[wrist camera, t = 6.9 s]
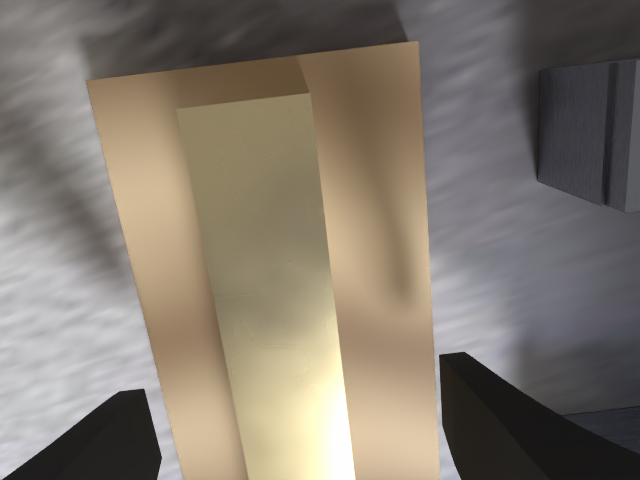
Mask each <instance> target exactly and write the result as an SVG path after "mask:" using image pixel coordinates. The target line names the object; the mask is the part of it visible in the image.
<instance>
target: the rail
mask: <svg viewBox="0 0 640 480" xmlns="http://www.w3.org/2000/svg"><path fill="white" fill-rule="evenodd" d="M176 111H177V116H178V121H179V126H180V131H181V136H182V141H183V146H184V151H185V156H186V161H187V167H188V172H189V177H190V182H191V187H192V192H193V197H194V202H195V207H196V212H197V217H198V223H199V228H200V233H201V238H202V243H203V248H204V253H205V258H206V263H207V268H208V273H209V279H210V284H211V289H212V294H213V299H214V304H215V309H216V314H217V319H218V324H219V329H220V334H221V340H222V345H223V350H224V355H225V360H226V365H227V370H228V375H229V380H230V385H231V390H232V396H233V401H234V406H235V411H236V416H237V421H238V426H239V431H240V436H241V441H242V446H243V451H244V457H245V462H246V467H247V472H248V477H249V480H355V475H354V466H353V458H352V449H351V440H350V432H349V423H348V414H347V405H346V397H345V388H344V379H343V371H342V362H341V353H340V345H339V336H338V327H337V319H336V310H335V301H334V293H333V284H332V275H331V266H330V258H329V249H328V240H327V232H326V223H325V214H324V206H323V197H322V188H321V180H320V171H319V162H318V154H317V145H316V136H315V127H314V119H313V110H312V101H311V93H303V94H295V95H287V96H278V97H270V98H262V99H253V100H245V101H237V102H228V103H220V104H212V105H203V106H195V107H188V108H180V109H176Z"/></svg>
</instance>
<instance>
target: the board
mask: <svg viewBox="0 0 640 480" xmlns="http://www.w3.org/2000/svg"><path fill="white" fill-rule="evenodd" d="M86 84H87V88H88V92H89V96H90V100H91V105H92V109H93V113H94V117H95V121H96V125H97V129H98V133H99V137H100V141H101V145H102V149H103V153H104V157H105V161H106V165H107V169H108V174H109V178H110V182H111V186H112V190H113V194H114V198H115V202H116V206H117V210H118V214H119V218H120V222H121V226H122V230H123V234H124V238H125V242H126V247H127V251H128V255H129V259H130V263H131V267H132V271H133V275H134V279H135V283H136V287H137V291H138V295H139V299H140V303H141V307H142V311H143V315H144V320H145V324H146V328H147V332H148V336H149V340H150V344H151V348H152V352H153V356H154V360H155V364H156V368H157V372H158V376H159V380H160V384H161V388H162V393H163V397H164V401H165V405H166V409H167V413H168V417H169V421H170V425H171V429H172V433H173V437H174V441H175V445H176V449H177V453H178V457H179V461H180V466H181V470H182V474H183V478H184V480H249V477H248V472H247V467H246V462H245V457H244V451H243V446H242V441H241V436H240V431H239V426H238V421H237V416H236V411H235V406H234V401H233V396H232V390H231V385H230V380H229V375H228V370H227V365H226V360H225V355H224V350H223V345H222V340H221V334H220V329H219V324H218V319H217V314H216V309H215V304H214V299H213V294H212V289H211V284H210V279H209V273H208V268H207V263H206V258H205V253H204V248H203V243H202V238H201V233H200V228H199V223H198V217H197V212H196V207H195V202H194V197H193V192H192V187H191V182H190V177H189V172H188V167H187V161H186V156H185V151H184V146H183V141H182V136H181V131H180V126H179V121H178V116H177V111H176V109H180V108H188V107H195V106H203V105H212V104H220V103H228V102H237V101H245V100H253V99H262V98H270V97H278V96H287V95H295V94H303V93H311V101H312V110H313V119H314V127H315V136H316V145H317V154H318V162H319V171H320V180H321V188H322V197H323V206H324V214H325V223H326V232H327V240H328V249H329V258H330V266H331V275H332V284H333V293H334V301H335V310H336V319H337V327H338V336H339V345H340V353H341V362H342V371H343V379H344V388H345V397H346V405H347V414H348V423H349V432H350V440H351V449H352V458H353V466H354V475H355V480H440V461H439V441H438V421H437V401H436V380H435V360H434V340H433V320H432V300H431V279H430V259H429V239H428V219H427V199H426V179H425V158H424V138H423V118H422V98H421V78H420V58H419V41H411V42H402V43H394V44H386V45H378V46H369V47H361V48H353V49H344V50H336V51H328V52H319V53H311V54H303V55H294V56H286V57H278V58H269V59H261V60H253V61H245V62H236V63H228V64H220V65H211V66H203V67H195V68H186V69H178V70H170V71H161V72H153V73H145V74H136V75H128V76H120V77H112V78H103V79H95V80H87V81H86Z"/></svg>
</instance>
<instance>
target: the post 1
mask: <svg viewBox="0 0 640 480" xmlns="http://www.w3.org/2000/svg"><path fill="white" fill-rule="evenodd" d="M538 182H540V183H543V184H545V185H548V186H551V187H553V188H556V189H558V190H561V191H564V192H566V193H569V194H572V195H574V196H577V197H579V198H582V199H585V200H587V201H590V202H592V203H595V204H598V205H600V206H601V205H606V206H609V207H612V208H614V209H617V210H620V211H622V212H634V211H640V58H633V59H625V60H617V61H608V62H600V63H592V64H583V65H575V66H567V67H558V68H550V69H542V70H540V100H539V149H538Z"/></svg>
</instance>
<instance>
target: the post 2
mask: <svg viewBox="0 0 640 480" xmlns="http://www.w3.org/2000/svg"><path fill="white" fill-rule="evenodd" d="M562 417H564V418H566V419H568V420H569V421H571V422H573V423H575V424H577V425H579V426H581V427H583V428H585V429H587V430H589V431H591V432H593V433H595V434H597V435H599V436H601V437H603V438H605V439H607V440H609V441H611V442H613V443H615V444H618V445H620V446H622V447H624V448H627V449H629V450H631V451H634V452H636V453H639V454H640V407H633V408H624V409H616V410H607V411H599V412H590V413H582V414H573V415H564V416H562Z"/></svg>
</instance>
